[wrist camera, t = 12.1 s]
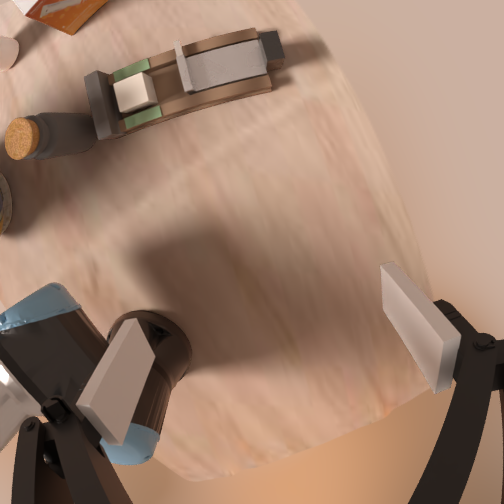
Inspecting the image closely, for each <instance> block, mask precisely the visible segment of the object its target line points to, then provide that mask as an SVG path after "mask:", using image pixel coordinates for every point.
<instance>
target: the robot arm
mask: <svg viewBox="0 0 504 504" xmlns="http://www.w3.org/2000/svg"><path fill="white" fill-rule="evenodd" d="M380 270H381V284H382V301H383V311H384V312H385V314H386V316H387V317H388V319H389V320H390V322H391V323H392V325H393V326H394V328H395V329H396V331H397V333H398V334H399V336H400V337H401V339H402V341H403V342H404V344H405V345H406V347H407V349H408V350H409V352H410V354H411V355H412V357H413V358H414V360H415V362H416V363H417V365H418V367H419V368H420V370H421V372H422V373H423V375H424V377H425V379H426V380H427V382H428V384H429V385H430V387H431V389H432V391H433V392H434V394H437V393H439V392H441V391H444V390H446V389H449V388H451V384H452V379H453V378H454V380H455V381H456V383H457V384H456V387H455V391H454V394H453V397H452V400H451V403H450V407H449V409H448V412H447V416H446V418H445V421H444V424H443V427H442V429H441V432H440V435H439V437H438V440H437V442H436V445H435V447H434V450H433V452H432V455H431V457H430V459H429V462H428V464H427V466H426V468H425V470H424V473H423V475H422V477H421V479H420V481H419V483H418V485H417V487H416V489H415V491H414V493H413V495H412V497H411V499H410V501H409V503H408V504H459V501H460V499H461V496H462V494H463V491H464V489H465V486H466V483H467V481H468V478H469V475H470V472H471V469H472V466H473V463H474V460H475V457H476V453H477V450H478V447H479V443H480V440H481V436H482V432H483V428H484V424H485V420H486V416H487V411H488V406H489V402H490V397H491V391H495V390H499V392H500V401H501V413H502V426H503V427H502V428H503V485H502V499H501V504H504V340H496V339H495V338H494V337H493V336H491V335H490V334H486V333H478V332H477V331H476V330H475V329H474V328H473V327H472V325H471V324H470V323H469V322H468V321H467V320H466V319H465V318H464V317H463V316H462V315H461V314H460V313H459V312H458V311H457V310H456V309H455V308H454V306H453V305H451V304H450V303H448V302H446V301H444V300H442V299H441V300H438V301H435V302H432V301H431V300H430V299H429V298H428V297H427V296H426V295H425V294H424V293H423V292H422V290H421V289H420V288H419V287H418V286H417V285H416V284H415V283H414V282H413V281H412V280H411V279H410V278H409V277H408V276H407V275H406V274H405V273H404V272H403V270H402V269H401V268H400V267H399V266H398V265H397V264H396V263H395V262H394V261H393V262H389V263H385V264H381V265H380ZM191 356H192V352H191V346H190V343H189V341H188V339H187V337H186V336H185V334H184V333H183V332H182V330H181V329H180V328H179V327H178V326H177V325H175V324H174V323H173V322H171V321H170V320H168V319H167V318H165V317H163V316H160V315H158V314H155V313H151V312H146V311H134V312H129V313H126V314H124V315H122V316H121V317H119V318H118V319H117V320H116V321H115V323H114V324H113V326H112V327H111V329H110V331H109V333H108V336H107V341H106V340H105V338H104V337H103V336H102V335H101V333H100V332H99V331H98V330H97V328H96V327H95V326H94V325H93V323H92V322H91V321H90V319H89V318H88V317H87V315H86V314H85V313H84V311H83V310H82V308H81V305H80V304H78V303H77V302H76V301H75V299H74V298H73V297H72V296H71V294H70V293H69V292H68V291H67V289H66V288H65V287H64V286H63V285H61V284H60V283H56V282H53V283H49V284H47V285H45V286H44V287H42V288H40V289H39V290H37V291H36V292H34V293H32V294H31V295H29V296H28V297H26V298H24V299H23V300H21V301H20V302H18V303H17V304H15V305H14V306H12V307H11V308H9V309H8V310H6V311H5V312H3V313H2V314H0V452H1V451H2V450H3V449H4V448H5V446H6V445H7V444H8V443H9V442H10V441H11V439H12V438H13V437H14V436H15V435H16V434H17V432H18V431H19V436H18V442H17V449H16V457H15V464H14V473H13V484H12V500H11V504H133V503H132V501H131V500H130V498H129V496H128V494H127V493H126V491H125V489H124V487H123V485H122V483H121V482H120V480H119V478H118V476H117V474H116V472H115V470H114V468H113V466H112V464H111V463H115V464H121V465H137V464H142V463H144V462H146V461H148V460H149V459H150V458H151V457H152V455H153V453H154V451H155V448H156V445H157V442H158V441H159V440H160V434H161V430H162V426H163V422H164V418H165V414H166V410H167V406H168V402H169V398H170V394H171V391H172V389H173V388H174V387H175V386H176V384H177V382H178V381H180V380H181V379H182V378H183V377H184V376H185V374H186V373H187V371H188V368H189V365H190V361H191ZM35 416H45V417H46V418H47V420H48V421H49V422H47V423H42V422H41V421H40V420H39V419H38V418H37V417H35ZM44 458H45V459H46V463H45V460H44Z"/></svg>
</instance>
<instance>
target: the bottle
mask: <svg viewBox="0 0 504 504" xmlns="http://www.w3.org/2000/svg"><path fill="white" fill-rule="evenodd" d="M96 138H97V132H96V128H95V124H94V120H93V118H92V117H91V116H89V115H86V114H77V113H40V114H37V115H36V116H34V115H32V116H27V117H25V118H21V117H20V118H17V119H15V120H13V121H12V122H11V124H10V125H9V127H8V129H7V131H6V135H5V148H6V151H7V153H8V155H9V156H10V157H11V158H13V159H15V160H20V159H26V160H28V159H33V158H35V159H38V160H43V159H49V158H54V157H59V156H65V155H70V154H75V153H80V152H84V151H87V150H88V149H90V148H91V147H92V146H93V144H94V143H95V141H96Z"/></svg>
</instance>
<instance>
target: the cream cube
mask: <svg viewBox="0 0 504 504" xmlns="http://www.w3.org/2000/svg"><path fill="white" fill-rule="evenodd" d="M113 85H114V90H115V94H116V98H117V102H118V107H119V111H120V112H123V113H131V114H132V113H134V112H137V111H139V110H142V109H145V108H147V107H150V106H153V105H156V104H158V101H157V97H156V93H155V89H154V85H153V81H152V77H150V76H148V75H146V74H144V73H143V72H141V73H138V74H136V75H133V76H131V77H128V78H126V79H124V80H121V81H119V82H117V83H114V84H113Z"/></svg>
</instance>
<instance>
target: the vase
mask: <svg viewBox="0 0 504 504" xmlns="http://www.w3.org/2000/svg"><path fill="white" fill-rule="evenodd" d="M11 216H12V198H11V192H10V189H9V185H8V183H7V180H6V179H5V177H4V176H3V174H2V173H1V172H0V235H1V234H2V233H3V232H4V231H5V230H6V228H7V227H8V225H9V223H10V220H11Z"/></svg>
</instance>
